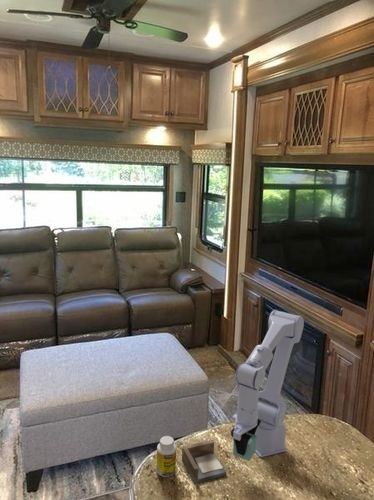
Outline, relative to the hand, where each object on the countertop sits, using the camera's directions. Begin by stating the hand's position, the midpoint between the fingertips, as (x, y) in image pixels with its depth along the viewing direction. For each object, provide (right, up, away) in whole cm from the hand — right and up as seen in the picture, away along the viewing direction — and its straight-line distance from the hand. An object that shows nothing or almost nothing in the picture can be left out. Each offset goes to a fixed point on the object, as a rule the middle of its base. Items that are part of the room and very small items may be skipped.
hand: (244, 448), depth 120 cm
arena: (-12, -7, +4) cm, 14 cm away
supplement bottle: (-23, -8, +2) cm, 24 cm away
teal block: (0, -2, 0) cm, 2 cm away
